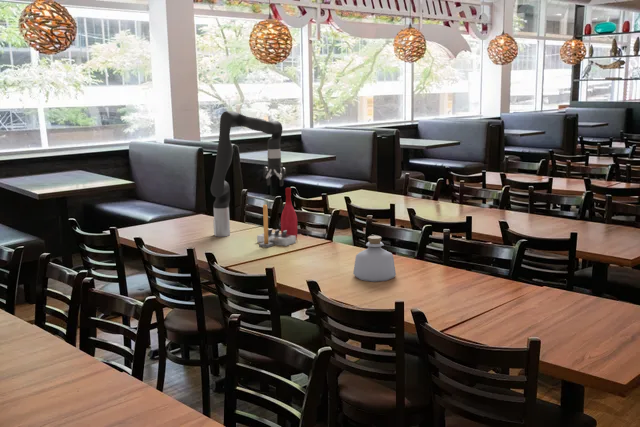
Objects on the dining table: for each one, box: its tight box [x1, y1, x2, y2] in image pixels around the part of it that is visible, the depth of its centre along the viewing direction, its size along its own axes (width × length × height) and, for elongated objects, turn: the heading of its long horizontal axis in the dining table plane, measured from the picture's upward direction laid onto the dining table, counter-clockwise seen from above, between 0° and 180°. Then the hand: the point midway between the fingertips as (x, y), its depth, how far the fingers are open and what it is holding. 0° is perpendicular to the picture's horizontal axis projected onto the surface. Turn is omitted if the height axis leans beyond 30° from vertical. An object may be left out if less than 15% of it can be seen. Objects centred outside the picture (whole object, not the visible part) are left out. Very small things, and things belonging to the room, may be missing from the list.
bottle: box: [353, 235, 397, 283], centre depth 310 cm, size 20×20×19 cm
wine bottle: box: [280, 187, 298, 238], centre depth 389 cm, size 10×10×30 cm
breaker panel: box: [256, 232, 297, 247], centre depth 381 cm, size 20×10×4 cm, turn 59°
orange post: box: [258, 204, 275, 249], centre depth 370 cm, size 6×6×24 cm
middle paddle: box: [274, 228, 281, 235], centre depth 380 cm, size 1×3×3 cm, turn 149°
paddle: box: [268, 228, 274, 235], centre depth 382 cm, size 1×3×3 cm, turn 150°
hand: (275, 185), depth 375 cm, fingers open, 8 cm apart
